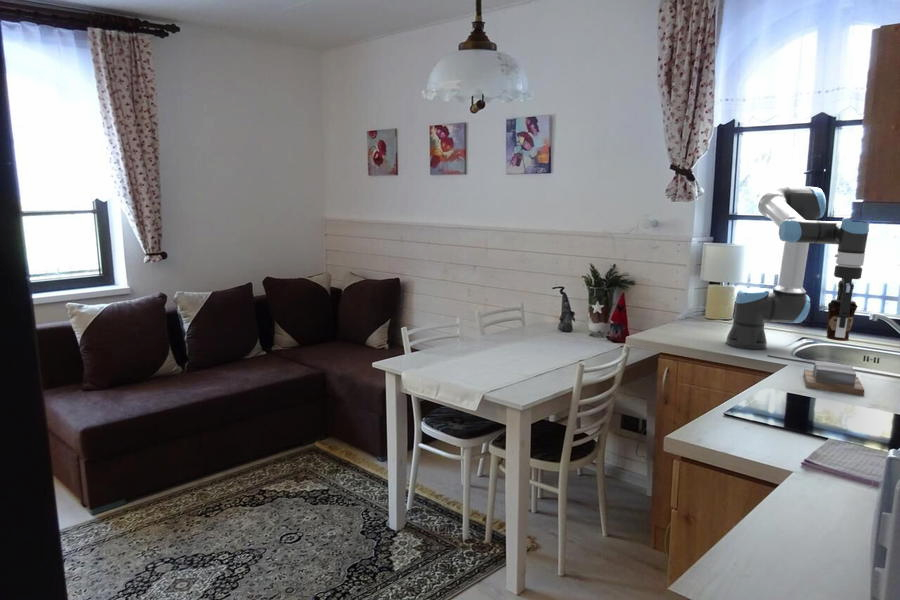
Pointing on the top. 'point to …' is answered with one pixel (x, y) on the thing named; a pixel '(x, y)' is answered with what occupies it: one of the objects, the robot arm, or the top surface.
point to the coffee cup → (832, 319)
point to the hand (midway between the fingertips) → (838, 334)
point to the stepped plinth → (833, 386)
